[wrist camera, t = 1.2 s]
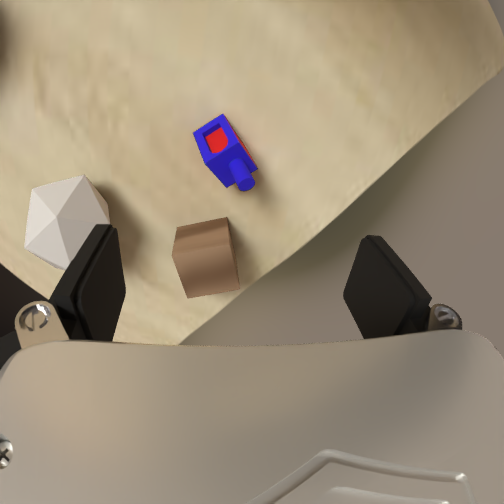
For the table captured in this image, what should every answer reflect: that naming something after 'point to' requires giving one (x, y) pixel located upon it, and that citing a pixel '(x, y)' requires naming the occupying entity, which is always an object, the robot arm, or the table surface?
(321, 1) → the table surface
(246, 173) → the toy building block
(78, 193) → the die
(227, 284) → the walnut cube
